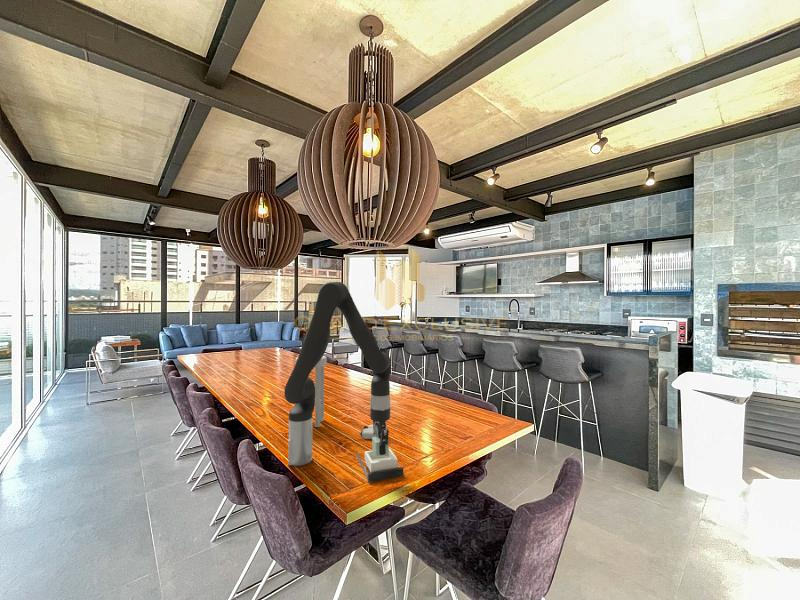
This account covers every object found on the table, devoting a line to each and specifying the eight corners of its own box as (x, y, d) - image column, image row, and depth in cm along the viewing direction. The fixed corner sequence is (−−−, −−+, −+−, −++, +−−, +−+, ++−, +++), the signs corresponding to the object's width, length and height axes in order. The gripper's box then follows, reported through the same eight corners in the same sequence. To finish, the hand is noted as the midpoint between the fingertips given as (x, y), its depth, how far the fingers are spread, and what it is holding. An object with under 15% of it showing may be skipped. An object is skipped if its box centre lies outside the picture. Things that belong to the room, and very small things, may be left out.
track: (368, 485, 116) (368, 474, 116) (355, 458, 137) (355, 448, 137) (403, 479, 120) (403, 468, 120) (385, 453, 141) (385, 443, 141)
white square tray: (371, 478, 118) (371, 463, 118) (364, 465, 128) (364, 451, 128) (397, 474, 122) (397, 459, 122) (389, 461, 131) (389, 447, 131)
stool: (291, 429, 168) (292, 359, 168) (300, 418, 183) (300, 355, 183) (322, 429, 168) (323, 359, 168) (328, 418, 184) (328, 354, 184)
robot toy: (361, 432, 166) (358, 442, 151) (361, 423, 167) (358, 432, 152) (386, 432, 167) (385, 442, 152) (386, 423, 167) (385, 432, 152)
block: (375, 456, 122) (375, 442, 122) (372, 450, 127) (372, 437, 127) (388, 454, 124) (388, 440, 124) (384, 448, 128) (384, 435, 129)
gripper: (366, 401, 131) (366, 445, 131) (375, 413, 117) (375, 461, 117) (384, 399, 133) (384, 442, 133) (395, 410, 120) (395, 458, 120)
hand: (380, 451), depth 125 cm, fingers closed on block, 5 cm apart
